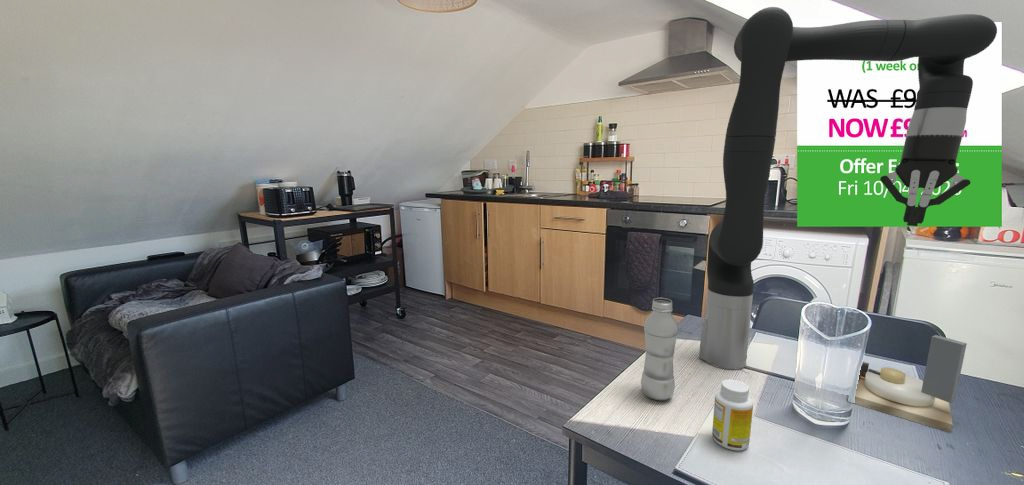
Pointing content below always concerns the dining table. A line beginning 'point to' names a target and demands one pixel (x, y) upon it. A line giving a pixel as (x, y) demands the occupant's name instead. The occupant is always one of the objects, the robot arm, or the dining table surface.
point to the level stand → (904, 406)
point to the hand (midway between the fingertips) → (911, 225)
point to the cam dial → (937, 377)
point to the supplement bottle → (732, 415)
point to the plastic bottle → (659, 351)
